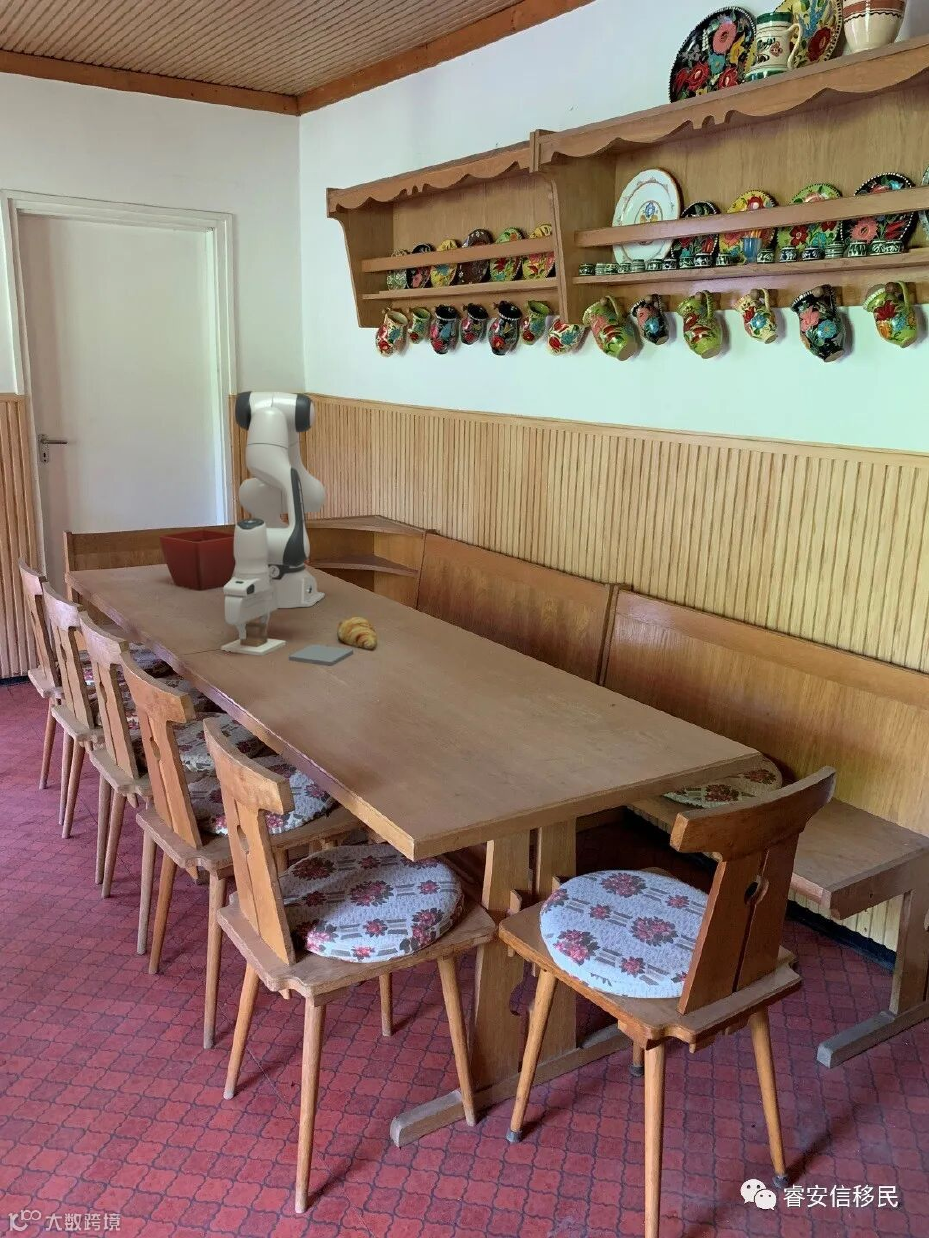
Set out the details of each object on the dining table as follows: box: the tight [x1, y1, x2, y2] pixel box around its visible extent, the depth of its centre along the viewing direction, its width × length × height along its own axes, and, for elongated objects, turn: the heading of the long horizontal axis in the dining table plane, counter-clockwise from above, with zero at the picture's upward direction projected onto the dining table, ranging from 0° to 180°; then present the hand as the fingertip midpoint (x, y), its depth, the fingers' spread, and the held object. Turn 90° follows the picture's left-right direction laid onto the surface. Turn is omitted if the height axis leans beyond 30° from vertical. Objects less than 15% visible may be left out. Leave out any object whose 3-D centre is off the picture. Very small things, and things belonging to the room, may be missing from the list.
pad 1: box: [220, 637, 287, 657], centre depth 264 cm, size 12×12×1 cm
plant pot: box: [159, 529, 236, 591], centre depth 332 cm, size 19×19×17 cm
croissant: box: [336, 615, 378, 650], centre depth 272 cm, size 21×10×8 cm, turn 30°
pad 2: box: [288, 643, 354, 667], centre depth 257 cm, size 12×12×1 cm
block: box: [239, 621, 268, 647], centre depth 263 cm, size 5×5×5 cm
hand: (253, 634), depth 263 cm, fingers open, 8 cm apart
